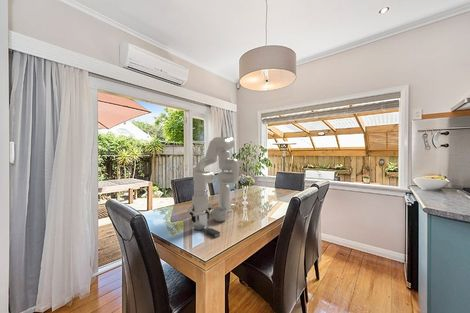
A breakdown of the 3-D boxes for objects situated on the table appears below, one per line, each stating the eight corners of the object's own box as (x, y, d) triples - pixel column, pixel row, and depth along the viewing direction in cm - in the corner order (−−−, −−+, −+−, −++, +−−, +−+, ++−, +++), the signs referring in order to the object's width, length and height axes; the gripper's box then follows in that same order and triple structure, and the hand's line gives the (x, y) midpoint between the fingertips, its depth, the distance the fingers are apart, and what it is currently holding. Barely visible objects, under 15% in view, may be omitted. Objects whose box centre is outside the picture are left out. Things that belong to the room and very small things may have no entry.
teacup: (223, 223, 137) (223, 211, 136) (209, 221, 140) (209, 210, 140) (231, 217, 150) (231, 206, 149) (217, 215, 153) (217, 205, 153)
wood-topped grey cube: (201, 222, 132) (201, 211, 132) (207, 224, 127) (207, 213, 127) (193, 224, 128) (193, 213, 128) (199, 227, 123) (199, 215, 123)
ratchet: (222, 235, 118) (222, 225, 118) (211, 239, 113) (211, 229, 112) (202, 225, 133) (202, 217, 133) (191, 228, 128) (191, 219, 128)
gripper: (208, 190, 136) (208, 215, 136) (184, 194, 124) (184, 222, 124) (215, 191, 130) (215, 218, 131) (191, 196, 118) (191, 225, 119)
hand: (200, 220), depth 128 cm, fingers open, 9 cm apart
